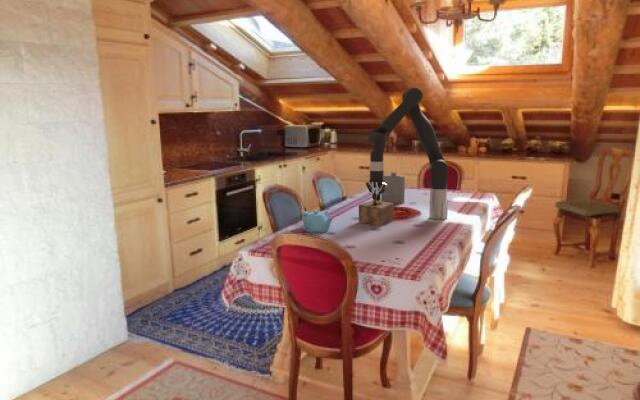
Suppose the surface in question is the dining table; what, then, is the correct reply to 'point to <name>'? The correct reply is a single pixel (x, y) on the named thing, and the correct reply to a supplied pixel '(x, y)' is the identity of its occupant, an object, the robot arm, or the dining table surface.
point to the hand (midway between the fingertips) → (376, 200)
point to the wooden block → (376, 201)
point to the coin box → (376, 213)
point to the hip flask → (394, 188)
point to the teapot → (316, 221)
